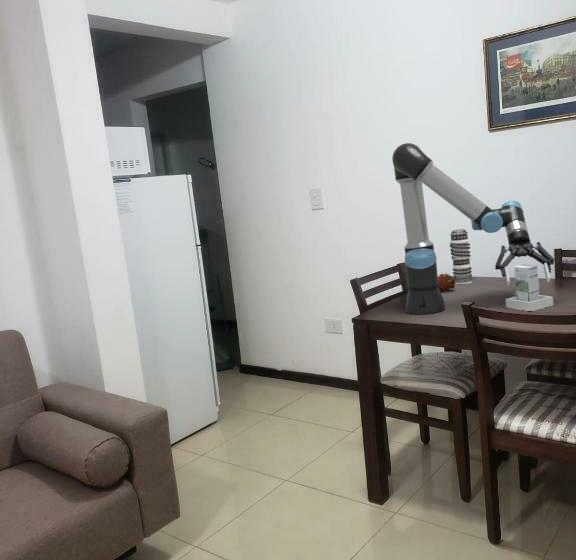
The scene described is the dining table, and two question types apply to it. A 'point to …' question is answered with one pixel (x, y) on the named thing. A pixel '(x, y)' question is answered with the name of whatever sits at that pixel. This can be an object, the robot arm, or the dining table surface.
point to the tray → (529, 303)
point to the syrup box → (527, 282)
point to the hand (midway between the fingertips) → (528, 281)
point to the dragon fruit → (445, 282)
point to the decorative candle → (461, 257)
